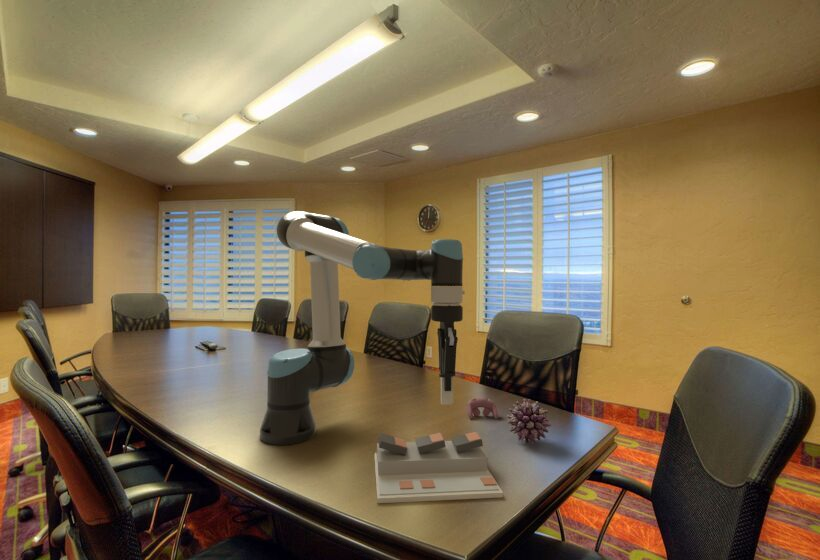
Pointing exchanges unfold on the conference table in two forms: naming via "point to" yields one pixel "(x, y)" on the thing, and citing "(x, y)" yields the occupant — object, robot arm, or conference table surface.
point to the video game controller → (481, 402)
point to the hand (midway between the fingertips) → (446, 403)
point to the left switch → (392, 444)
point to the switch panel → (433, 475)
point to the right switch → (466, 441)
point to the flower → (528, 421)
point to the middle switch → (430, 442)
